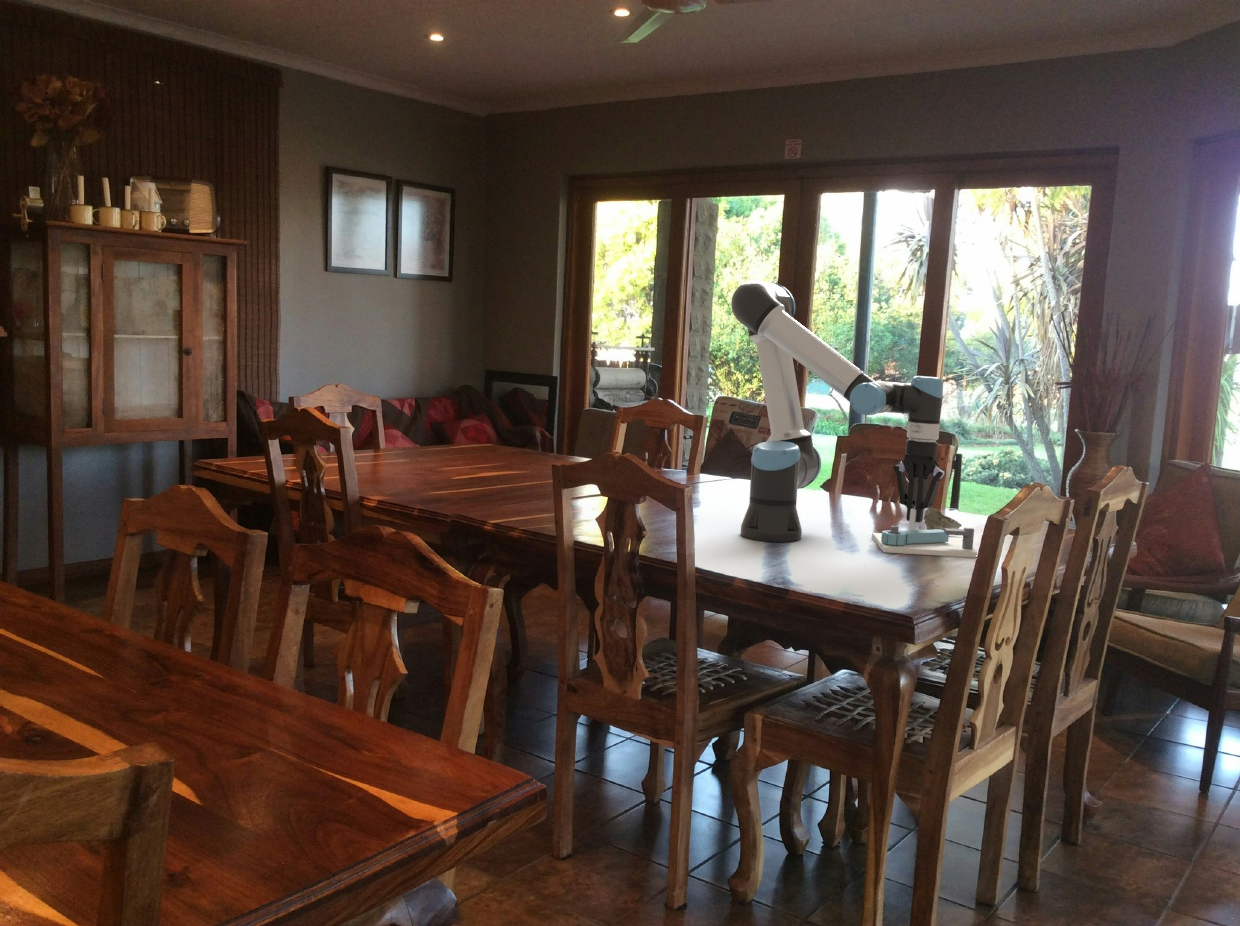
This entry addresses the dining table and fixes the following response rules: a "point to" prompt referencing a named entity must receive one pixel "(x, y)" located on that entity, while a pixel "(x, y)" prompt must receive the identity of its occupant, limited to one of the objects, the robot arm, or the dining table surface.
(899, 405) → the robot arm
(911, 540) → the link
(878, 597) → the dining table surface
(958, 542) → the board
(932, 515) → the rock
